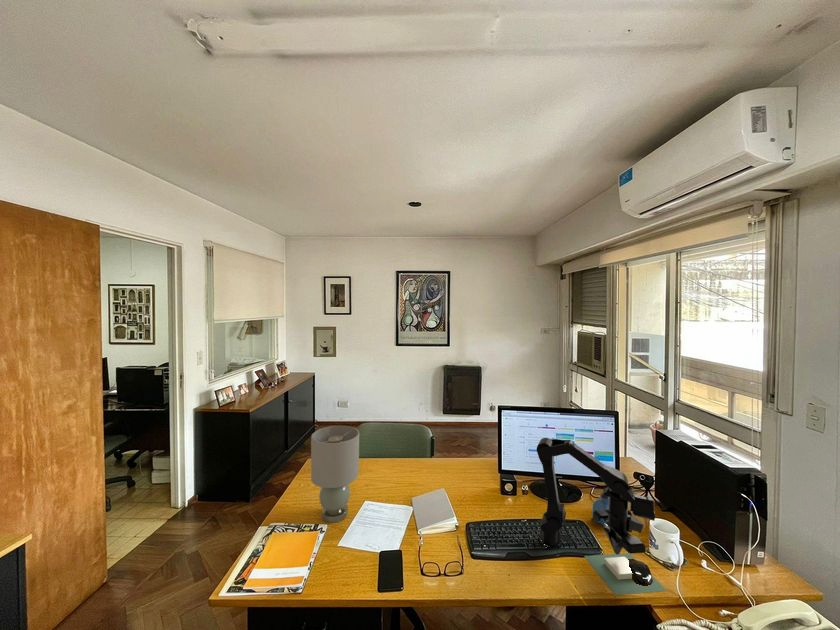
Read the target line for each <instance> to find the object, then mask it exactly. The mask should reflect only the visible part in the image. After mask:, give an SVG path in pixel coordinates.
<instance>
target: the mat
mask: <svg viewBox="0 0 840 630" xmlns="http://www.w3.org/2000/svg"><path fill="white" fill-rule="evenodd" d="M583 556H584V558H585V560H586V561H587V562H588V563H589V564H590V566H591V567H592V568H593V569H594V571H595V572H596V573H597V574H598V576H599V577H600V579H602V581H603V582H604V583H605V584H606V586H607V587H608V588H609V589H610V590H611V592H612V594H614V596H619V595H620V596H621V595H632V594H643V593H654V592H657V593H658V592H667V591H668V590H667V589H666V588H665V587H664V586H663V585H662V584H661V582H659V581H658V580H657V579H656V577H654V576H653V583H652V584H651V585H648V586H642V585H639V584H636V583H635V582H634V581H633V580H632V579H620V580H618V579H617V578H616V576H615V575H614V574H613V573H612V572H611V571H610V569H609V568H608V567H607V566H606V565H605V564H604V558H612V557H626V558H627V559H636V558H635V557H634V556H633V555H632V554H630V553H628V552H625V553H624V552H623V553H621V552H620V553H619V554H618V555H616V554H615V553H611V554H610V553H609V554H595V555H583Z"/></svg>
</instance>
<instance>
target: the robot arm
mask: <svg viewBox="0 0 840 630" xmlns="http://www.w3.org/2000/svg"><path fill="white" fill-rule="evenodd" d="M536 453H537V455H538V456H537V457H538V459H539V461H540V463H541V465H542V471H543V479H544V483H545V484H544V486H545V491H546V499H547V503H546V504H547V506H546V512H544V513H543V515H542V518H541V521H540V525H539V536H540V538H541V540H542V542H543V544H546V545H548V546H550V547H547V546H545V547H547V548H549V549H561V548H560V547H559V548H558V546H556V545H557V544H561V531H560V530H562V529H563V526H564V524H565V522H566V517H567V512H566V510H565V507H566V506H565V503H561V502H560V499H559V493H558V486H557V485H558V484H557V477H556V472H555V464H554V463H555V462H554V460H555V457H559V456H563V455H569V456H571V457H572V458H574V459H575V460H577V461H578V462H579V463H581V464H582V465H583V466H584V467H585V468H587V469H589V470H590V471H591V472H592V473H594V474H595V475H597V476H598V477H599V478H600V479H601V480H602V481H603V483H604V484H605V486H607V487H606V488H603V489H602V492H603V495H604V496H608V497H609V509H606V510H595V511H594V512H593V511H592V519H593V518H594V519H595V520H596V521H595V520H594V519H593V520H594V521H595V522H597V523H598V522H600V521H601V519H603V520H604V521H605V527H603V528H602V529H603V531H604V533H605V534H606V536H607V539H608V541H609V543H610V545H611V548H612V550H613V553H614V554H616V555H618V554H621V552H622V550H623V549H624V550H625V551H626V553H630V554H631V555H632V554H646V551H647V550H646V548H647V547H646V546H647V545H646V544H645V543H644V542H642V540H640V539H639V538H638V537H637V536H636V535H632V534H630V533H632V532H633V531H634V532H637V533H638V534H642V532H643V530H644V526H645V524H644V523H643V522H642V521H641V520H640V519H638V518H637V517H639V518H643V519H646V520H649V521H653V522H654V521H655V519H656V512H655V506H654V505H655V503H654V498H652V497H650V496H644V495H643V496H642V495H639V494H636V493H635V492H634V489H633V487H631V485H630V484H629V479H628V477H627V475H626V474H625V473H624V472H622V471H620V470H619V469H616V468H614V467H612V466H608V465H607V464H604V463H603V462H601V461H600V460H599V459H597V458H596V457H595V456H593V455H592V454H591V453H589V452H587V451H586V450H584V449H583V448H582V447H581V446H579V445H577V444H576V443H575V442H574V441H573V440H571V439H558V438H549V437H543V438H541V439H540V440H539V442H538V445H536ZM635 516H636V517H635Z"/></svg>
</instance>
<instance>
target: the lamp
mask: <svg viewBox="0 0 840 630" xmlns="http://www.w3.org/2000/svg"><path fill="white" fill-rule="evenodd" d="M310 438H311V439H310V441H311V442H310V452H311V453H310V462H311V463H310V471H311V472H310V481H311V482H312V484H313V485H315V486H316V487H319V488H320V491H319V496H318V497H319V503H320V505H321V507H322V508H321V519H322V520H323V522H325V523H328V524H336V523H338V522H342V521H343V520H345V519H346V517H347V516H348V511H349V510H348V508H349V507H348V502H349V500H350V497H351V488H350V485H349V484H351V483H353V482H354V481H356V479H358V478H359V471H360V470H359V466H360V431H359V430H358V429H357V428H356V427H354V426H353V427H352V426H348V425H332V426H325V427H322V428H320V429H319V428H318V429H317V430H316V431H314V432H313V433H312V434H311V437H310Z"/></svg>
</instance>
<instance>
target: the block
mask: <svg viewBox="0 0 840 630" xmlns="http://www.w3.org/2000/svg"><path fill="white" fill-rule="evenodd" d="M604 564H605V565H606V566H607V567H608V568H609V569H610V571H611V572H612V573H613V574H614V575H615V576H616V578H617V579H618V580H620V579H632V574H633V573H632V571H631V568H630V567H629V560H628V559H627V558H626V557H612V558H604Z"/></svg>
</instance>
